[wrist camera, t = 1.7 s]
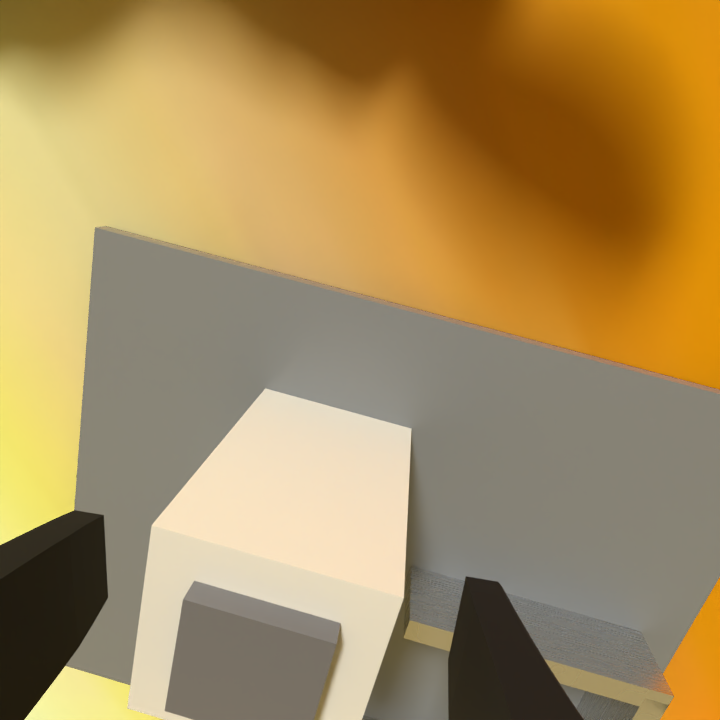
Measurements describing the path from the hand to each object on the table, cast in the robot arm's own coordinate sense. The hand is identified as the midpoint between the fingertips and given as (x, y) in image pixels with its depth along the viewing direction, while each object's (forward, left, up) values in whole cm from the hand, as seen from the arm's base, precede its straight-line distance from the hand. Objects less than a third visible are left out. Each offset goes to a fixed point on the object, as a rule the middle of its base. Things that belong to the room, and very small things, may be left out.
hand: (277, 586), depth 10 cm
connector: (0, 0, -4) cm, 4 cm away
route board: (-2, +2, -5) cm, 6 cm away
